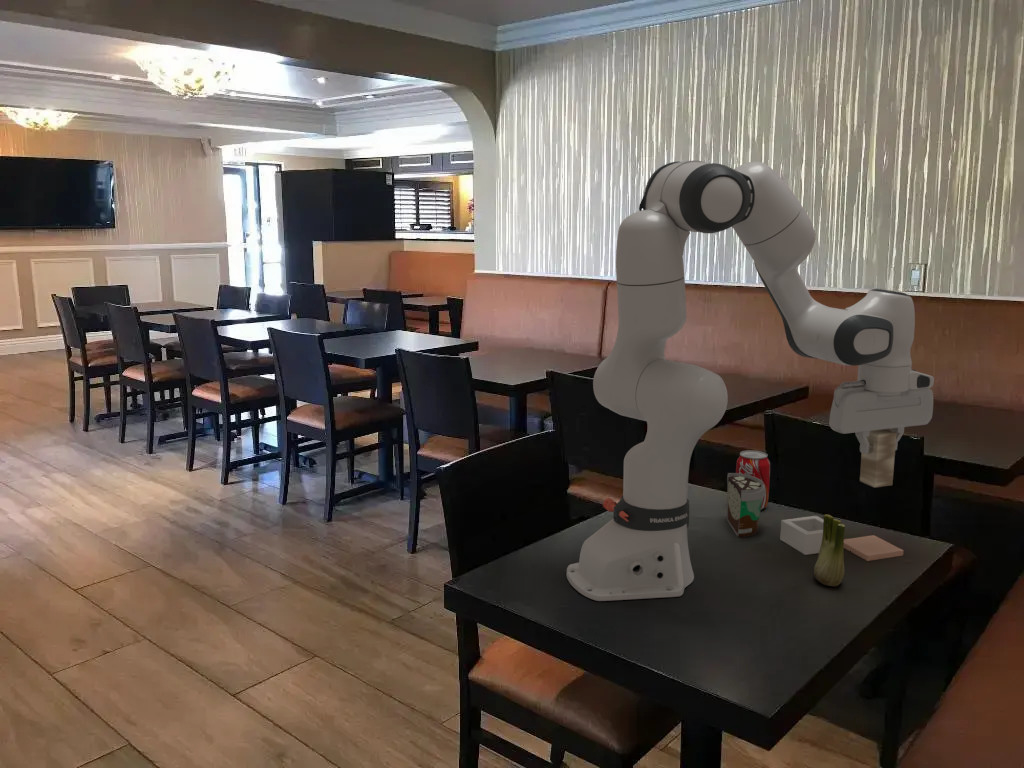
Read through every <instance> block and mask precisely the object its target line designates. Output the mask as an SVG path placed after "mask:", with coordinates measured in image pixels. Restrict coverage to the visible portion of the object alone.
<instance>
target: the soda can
mask: <svg viewBox="0 0 1024 768" xmlns="http://www.w3.org/2000/svg"><path fill="white" fill-rule="evenodd" d="M735 467H736V468H735V473H738V474H745V475H750V476H753V477H756V478H758V479H760V480H761V481H762V482H763V484H764V486H765V492H766V495H765V496H764V497H763V498H762V501H761V509H760V511H762V510H763V509H765V508H767V507H768V505H769V504H768V503H769V495H770V479H771V478H770V477H771V475H770V474H771V462H770V460H769V458H768V453H766V452H764V451H762V450H761V451H759V450H751V449H750V450H749V449H748V450H742V451H740V452H739V457H738V458H737V460H736V466H735Z"/></svg>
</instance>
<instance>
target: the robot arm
mask: <svg viewBox="0 0 1024 768" xmlns="http://www.w3.org/2000/svg"><path fill="white" fill-rule="evenodd" d="M730 228H732V229H733V231H734V232H735V234H736V235H737V237H738V238H739V240H740V241H741V243H742V244H743V246H744V247H745V249H746V251H747V252H748V254H749V255H750V257H751V259H752V260H753V261H754V263H753V264H754V266H755V269H756V272H757V274H758V277H759V278H760V280H761V282H762V284H763V286H764V287H765V290H766V291H767V293H768V295H769V297H770V299H771V300H772V303H773V304H774V305H775V308H776V309H777V311H778V312H779V315H780V317H781V321H782V323H783V327H784V332H785V336H786V340H787V344H788V345H789V347H790V349H791V350H792V351H793V352H794V353H796V355H798V356H800V357H803V358H810V359H819V360H823V361H826V362H830V363H832V364H833V363H834V364H839V365H844V366H846V367H847V366H849V367H850V366H853V367H855V366H856V367H857V366H858V369H857V380H854V381H844V382H841V384H839V385H838V386H837V387H836V388H835V389H834V392H833V400H832V404H831V406H830V407H831V408H830V414H829V422H828V424H829V427H830V429H832V430H833V431H834V432H837V433H839V434H843V435H844V434H852V433H853V434H854V433H855V437H856V439H857V441H858V442H859V444H860V445H859V452H860V453H861V454H862V453H863V454H869V453H872V452H873V450H872V449H873V444H870V443H869V442H868V439H867V436H869V434H870V431H873V430H882V429H886V430H889V431H892V432H895V433H896V446H895V451H897V450H898V445H899V444H898V442H899V441H900V440H901V438H902V436H903V435H904V433H905V428H908V427H915V426H916V427H918V426H925V425H928V424H929V423H930V422H931V420H932V418H933V414H934V413H933V412H934V393H933V391H932V389H931V388H932V387H934V384H935V377H934V376H932V375H929V374H926V373H923V372H920V371H917V370H915V369H913V368H912V366H913V362H912V361H913V360H912V357H911V348H912V345H913V343H914V340H915V326H916V312H915V311H916V310H915V303H914V300H913V298H912V297H911V296H910V295H909V294H907V293H905V292H902V291H897V290H895V291H894V290H887V289H881V288H880V289H879V288H873V289H869V290H868V291H867V293H866V294H865V296H864V297H863V298H861V299H860V300H859V301H857V302H856V303H855V304H853V305H851V306H848V307H846V308H845V309H844V308H836V307H830V306H827V305H825V304H822V303H820V302H818V301H816V300H815V299H814V298H813V297H812V296H811V294H810V292H809V290H808V288H807V286H806V284H805V282H804V280H803V279H802V276H801V275H800V273H799V271H798V269H797V267H799V266H800V265H801V264H802V263H803V262H804V261H805V260H806V259H807V258H808V257H809V255H810V254H811V253H812V251H813V248H814V245H815V242H816V241H815V240H816V231H815V228H814V225H813V223H812V220H811V218H810V216H809V215H808V213H807V211H806V210H805V208H804V207H803V205H802V204H801V202H800V201H799V199H798V197H797V196H796V195H795V194H794V192H793V191H792V189H791V188H790V187H789V185H788V184H786V182H785V181H784V179H782V178H781V177H780V175H779V174H778V173H777V172H776V171H775V170H774V169H773V168H772V167H771V166H770V165H768V164H767V163H766V162H765V163H764V162H761V161H757V160H756V161H750V162H745V163H742V164H741V165H739V166H736V167H735V168H732V167H729V166H727V165H725V164H721V163H715V162H714V163H712V162H711V163H710V162H706V161H702V160H684V161H671V162H668V163H666V164H663V165H661V166H660V167H659V168H657V169H656V170H655V171H654V172H653V173H652V174H651V175H650V177H649V178H648V181H647V182H646V185H645V189H644V193H643V196H642V199H641V201H640V203H639V206H638V211H636V212H633V213H632V214H629V215H628V216H626V217H625V218H624V219H623V220H622V221H621V223H620V225H619V227H618V229H617V230H618V231H617V232H618V233H617V237H616V238H617V240H616V251H615V253H616V254H615V275H616V276H615V277H616V279H615V280H616V292H617V294H616V295H617V308H618V310H617V312H618V323H617V324H618V328H617V334H616V338H615V342H614V345H613V347H612V349H611V351H610V353H609V354H608V356H607V357H606V358H604V359H603V360H602V361H601V362H600V363H599V365H598V367H597V369H596V370H595V372H594V375H593V379H592V380H593V381H592V385H593V386H592V388H593V389H592V390H593V393H594V394H593V395H594V396H595V399H596V400H597V402H598V403H599V404H600V405H601V406H603V407H604V408H606V409H609V410H610V411H612V412H614V413H615V414H618V415H620V416H623V417H627V418H631V419H636V420H639V421H644V422H646V424H647V432H646V434H645V438H644V441H642V442H639V443H637V444H636V445H634V446H632V447H631V448H630V449H629V450H628V451H627V452H626V454H625V456H624V459H623V480H622V481H623V486H622V489H623V490H622V491H623V493H622V496H621V497H620V499H619V501H618V502H616V501H614V499H612V498H610V497H608V498H605V499H604V501H603V503H602V506H603V508H604V509H605V510H606V511H608V512H609V513H612V512H613V517H612V518H611V519H610V520H609V521H608V522H606V523H605V524H604V525H603V526H602V527H601V528H599V529H598V530H596V532H594V533H593V534H592V535H590V536H588V537H587V539H585V540H584V541H583V543H582V546H581V550H580V554H579V561H578V562H575V563H571V564H568V566H567V567H566V573H565V574H566V579H567V581H568V583H569V584H570V586H572V587H573V588H574V589H575V590H576V591H577V592H578V593H580V594H581V595H582V596H584V597H586V598H588V599H591V600H594V601H597V602H607V601H609V602H610V601H623V600H626V601H627V600H642V599H643V600H644V599H657V598H658V599H659V598H675V597H678V598H679V597H681V596H682V595H683V594H684V592H685V588H686V587H688V586H689V585H691V584H692V583H693V582H694V580H695V574H694V571H693V567H692V561H691V557H690V551H689V542H688V528H689V524H690V500H689V498H688V485H689V484H688V483H689V471H690V463H691V458H692V454H693V451H694V449H695V446H696V445H697V443H698V441H700V440H699V439H701V437H702V436H703V435H704V434H705V433H706V432H708V430H711V429H713V428H714V427H715V426H716V425H718V423H719V422H720V421H721V420H722V418H723V416H724V415H725V413H726V410H727V406H728V398H729V397H728V396H729V394H728V390H727V386H726V384H725V381H724V380H723V378H722V377H721V375H719V374H718V373H715V372H713V371H712V370H709V369H707V368H704V367H701V366H698V365H696V364H695V363H694V364H693V363H687V362H682V361H681V362H680V361H675V360H674V361H673V360H669V359H666V357H665V351H666V349H665V348H666V343H667V341H668V339H670V338H672V337H674V336H675V335H676V334H678V333H679V331H681V329H682V328H683V327H684V326H685V324H686V322H687V315H688V314H687V300H686V281H685V279H686V278H685V264H684V258H683V256H684V250H685V246H686V242H687V240H688V238H689V235H690V234H691V233H702V234H716V233H721V232H723V231H725V230H728V229H730Z"/></svg>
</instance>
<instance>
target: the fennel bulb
mask: <svg viewBox="0 0 1024 768" xmlns="http://www.w3.org/2000/svg"><path fill="white" fill-rule="evenodd" d="M823 519H824V522H823V537H822V543H821V547H820V551H819V553H818V557H817V559H816V563H815V564H814V568H813V574H814V577H815V579H816V580H817V581H818V583H820V584H822V585H824V586H829V587H838V586H839V585H841V583H842V581H843V579H844V576H845V561H844V557H845V556H844V548H843V546H844V539H845V530H846V526H845V524H843V523H842V521H841V520H839V519H835V518H834V516H832V515H830V514H827V513H826V514H824V515H823Z"/></svg>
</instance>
